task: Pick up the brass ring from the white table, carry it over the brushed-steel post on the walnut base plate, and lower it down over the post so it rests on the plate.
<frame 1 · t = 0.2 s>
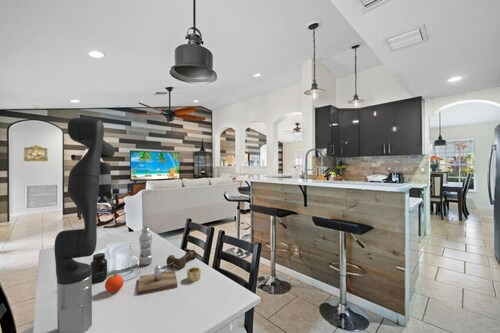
hand: (103, 214, 118), 29 cm above the table, tool pointing down, fingers open, 8 cm apart
brass ring: (193, 278, 111), on the table
kendama: (181, 264, 127), on the table
clementine: (113, 291, 100), on the table
plastic bottle: (145, 264, 126), on the table
steel post: (157, 272, 107), on the walnut base plate, point 5 cm above the table
walnut base plate: (158, 283, 107), on the table
supplement bottle: (98, 280, 110), on the table
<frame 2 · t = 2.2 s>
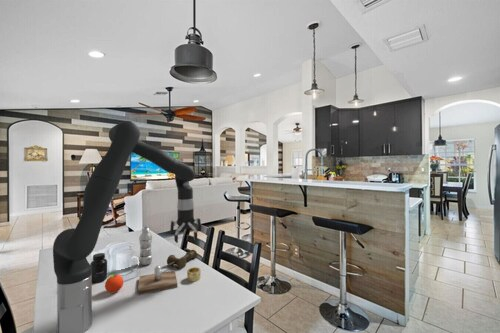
hand: (186, 241, 112), 18 cm above the table, tool pointing down, fingers open, 8 cm apart
nothing on the table moved.
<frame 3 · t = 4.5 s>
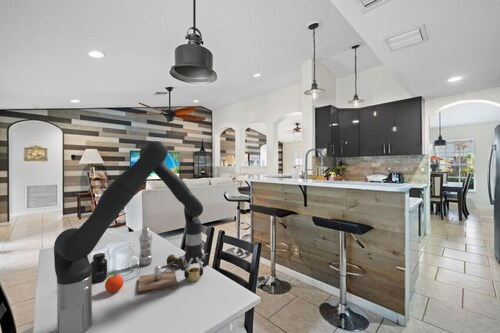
hand: (193, 276, 111), 1 cm above the table, tool pointing down, fingers closed on brass ring, 6 cm apart
brass ring: (193, 278, 111), on the table, touching gripper
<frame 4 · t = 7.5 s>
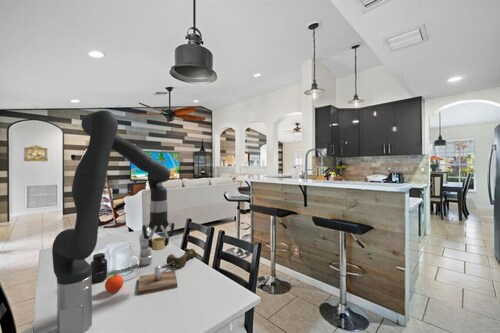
hand: (158, 246, 106), 17 cm above the table, tool pointing down, fingers closed on brass ring, 6 cm apart
brass ring: (158, 248, 106), point 16 cm above the table, touching gripper
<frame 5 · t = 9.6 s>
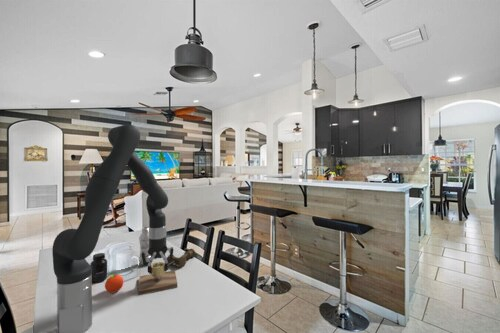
hand: (158, 271, 107), 5 cm above the table, tool pointing down, fingers closed on brass ring, 6 cm apart
brass ring: (157, 273, 107), point 4 cm above the table, touching gripper
when the fingers open (4 cm above the table, at t = 10.3 s): brass ring drops 2 cm, resting on walnut base plate.
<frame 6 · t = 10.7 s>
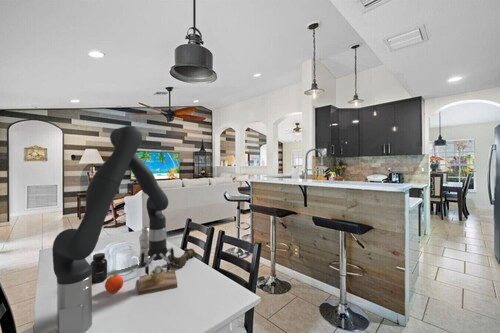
hand: (157, 272, 107), 5 cm above the table, tool pointing down, fingers open, 8 cm apart
brass ring: (157, 279, 107), point 1 cm above the table, touching walnut base plate
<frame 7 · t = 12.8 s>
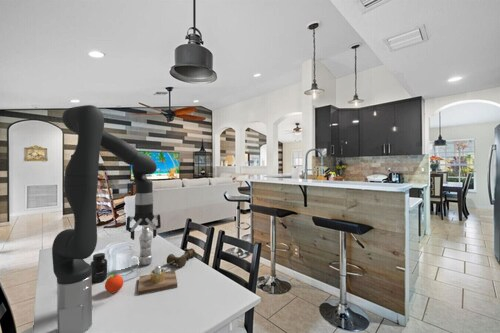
hand: (143, 238, 105), 21 cm above the table, tool pointing down, fingers open, 8 cm apart
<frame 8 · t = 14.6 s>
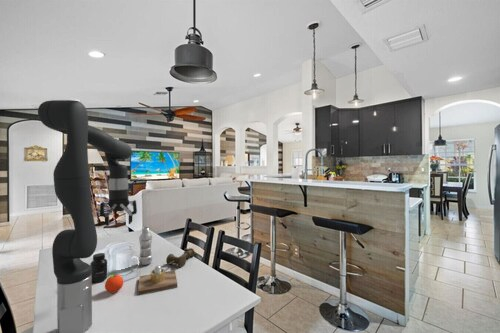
hand: (119, 224, 103), 28 cm above the table, tool pointing down, fingers open, 8 cm apart
at the end: brass ring 0.2 cm from the steel post (horizontally); brass ring point 1.5 cm above the table; the gripper is holding nothing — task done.
